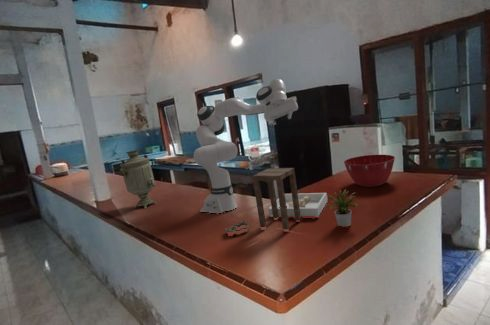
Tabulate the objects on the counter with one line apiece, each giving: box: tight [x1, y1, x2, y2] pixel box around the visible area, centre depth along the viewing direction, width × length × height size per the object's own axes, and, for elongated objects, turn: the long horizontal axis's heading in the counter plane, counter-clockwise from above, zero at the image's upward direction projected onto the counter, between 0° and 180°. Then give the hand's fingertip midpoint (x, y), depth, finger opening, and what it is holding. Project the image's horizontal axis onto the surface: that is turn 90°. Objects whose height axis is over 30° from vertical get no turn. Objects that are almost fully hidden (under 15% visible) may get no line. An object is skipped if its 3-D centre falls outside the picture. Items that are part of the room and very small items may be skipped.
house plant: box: [324, 188, 358, 227], centre depth 131 cm, size 14×14×16 cm
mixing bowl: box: [343, 154, 396, 188], centre depth 184 cm, size 28×28×16 cm
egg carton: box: [224, 220, 250, 232], centre depth 143 cm, size 11×8×4 cm
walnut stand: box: [252, 167, 302, 230], centre depth 141 cm, size 14×14×26 cm
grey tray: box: [268, 192, 329, 218], centre depth 160 cm, size 25×24×5 cm
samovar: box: [114, 149, 158, 210], centre depth 213 cm, size 30×26×40 cm
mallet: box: [289, 196, 310, 208], centre depth 162 cm, size 14×6×4 cm, turn 138°
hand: (281, 121), depth 171 cm, fingers open, 8 cm apart
